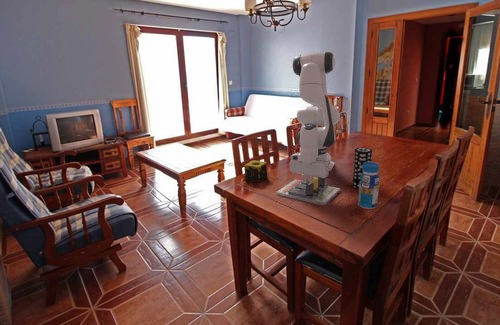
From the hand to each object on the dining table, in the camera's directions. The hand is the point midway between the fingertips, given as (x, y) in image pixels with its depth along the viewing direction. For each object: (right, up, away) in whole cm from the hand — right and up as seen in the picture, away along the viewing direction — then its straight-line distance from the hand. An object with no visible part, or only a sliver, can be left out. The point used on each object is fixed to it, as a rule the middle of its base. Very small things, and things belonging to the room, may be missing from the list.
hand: (308, 182), depth 148 cm
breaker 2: (+3, -3, -1) cm, 4 cm away
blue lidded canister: (+24, -10, -15) cm, 30 cm away
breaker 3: (+7, -1, +4) cm, 8 cm away
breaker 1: (-1, -5, -7) cm, 8 cm away
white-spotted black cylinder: (+29, -2, +7) cm, 30 cm away
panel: (0, -5, +2) cm, 6 cm away
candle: (-26, 0, +24) cm, 36 cm away
